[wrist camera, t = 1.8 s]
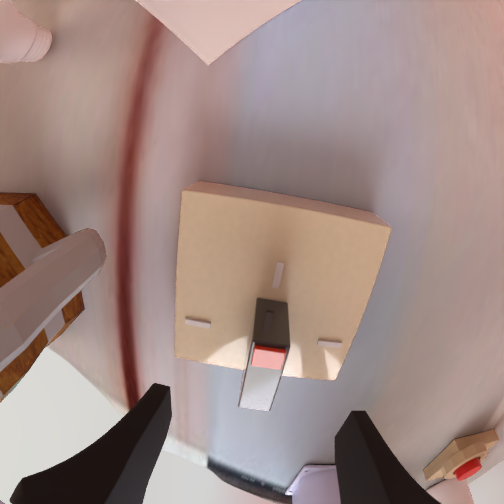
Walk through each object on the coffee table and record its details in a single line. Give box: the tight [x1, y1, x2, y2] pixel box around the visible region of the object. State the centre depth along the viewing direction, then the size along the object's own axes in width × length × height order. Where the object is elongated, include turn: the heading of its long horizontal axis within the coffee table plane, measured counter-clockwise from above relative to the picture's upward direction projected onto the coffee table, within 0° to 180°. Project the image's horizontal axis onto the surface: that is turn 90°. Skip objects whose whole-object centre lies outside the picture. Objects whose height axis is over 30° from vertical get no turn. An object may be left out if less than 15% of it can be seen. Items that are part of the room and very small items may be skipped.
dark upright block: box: [238, 298, 291, 411], centre depth 14 cm, size 4×2×4 cm, turn 171°
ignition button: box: [454, 457, 482, 481], centre depth 21 cm, size 4×4×2 cm
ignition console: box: [423, 429, 499, 481], centre depth 24 cm, size 9×10×4 cm
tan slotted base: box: [175, 181, 392, 381], centre depth 16 cm, size 11×10×3 cm
